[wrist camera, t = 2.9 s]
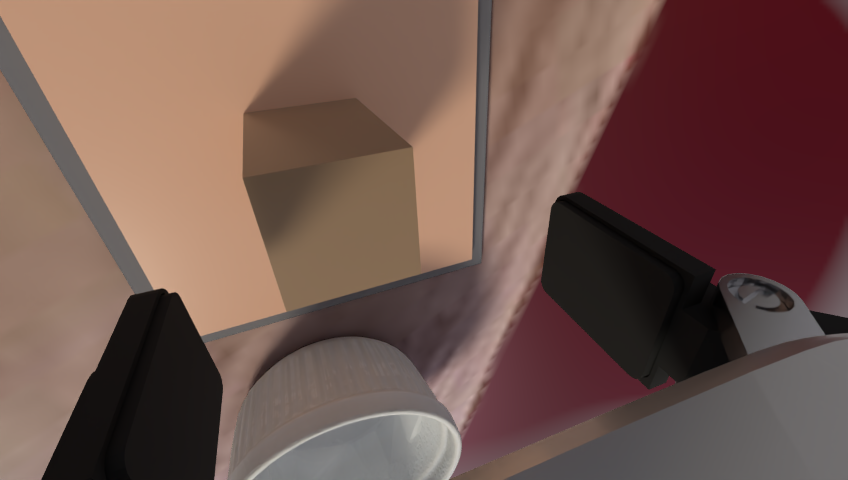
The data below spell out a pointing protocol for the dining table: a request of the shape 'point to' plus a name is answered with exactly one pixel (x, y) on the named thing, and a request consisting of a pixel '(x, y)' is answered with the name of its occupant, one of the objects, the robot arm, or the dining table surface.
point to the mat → (12, 64)
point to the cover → (267, 139)
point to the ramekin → (344, 418)
